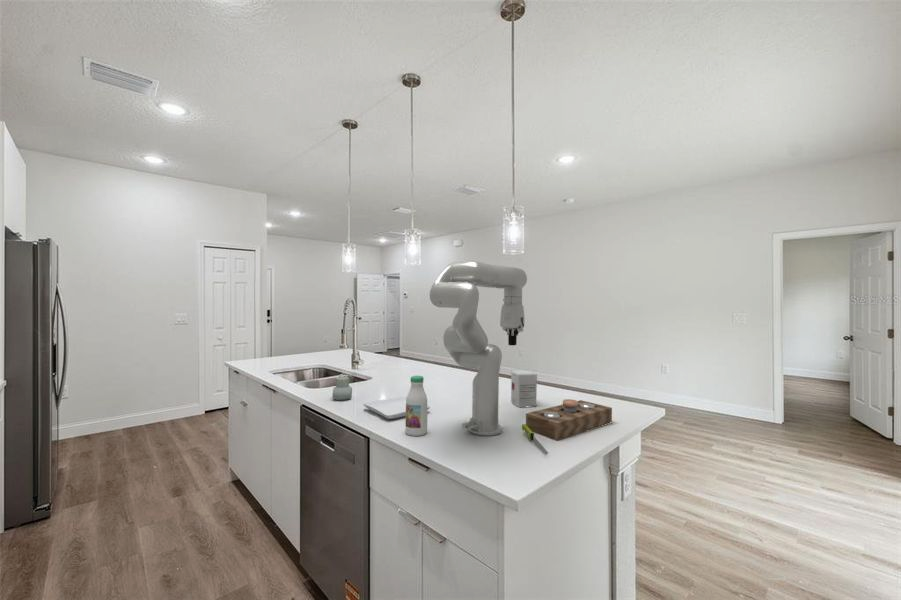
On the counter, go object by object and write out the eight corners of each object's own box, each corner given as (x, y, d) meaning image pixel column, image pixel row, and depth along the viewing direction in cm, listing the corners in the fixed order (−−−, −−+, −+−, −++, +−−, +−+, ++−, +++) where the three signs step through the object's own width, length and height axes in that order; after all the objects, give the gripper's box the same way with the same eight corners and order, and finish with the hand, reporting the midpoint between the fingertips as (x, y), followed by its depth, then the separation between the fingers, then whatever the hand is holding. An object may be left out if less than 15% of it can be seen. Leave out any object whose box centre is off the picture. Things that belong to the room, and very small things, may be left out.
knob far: (589, 422, 149) (589, 407, 149) (576, 419, 153) (576, 404, 153) (597, 420, 152) (597, 405, 152) (585, 416, 157) (585, 402, 157)
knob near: (553, 434, 136) (553, 417, 136) (540, 429, 140) (540, 413, 140) (562, 431, 139) (563, 414, 139) (550, 426, 143) (550, 410, 143)
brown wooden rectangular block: (557, 440, 130) (557, 423, 130) (525, 429, 142) (526, 413, 142) (611, 422, 151) (611, 407, 151) (580, 414, 162) (580, 400, 162)
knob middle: (572, 420, 142) (572, 403, 142) (559, 416, 147) (559, 400, 147) (581, 417, 146) (581, 401, 146) (568, 413, 150) (568, 398, 150)
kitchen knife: (550, 461, 116) (550, 452, 116) (546, 462, 116) (546, 452, 115) (524, 431, 138) (525, 423, 138) (521, 431, 138) (521, 423, 137)
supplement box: (510, 402, 179) (510, 370, 179) (528, 401, 181) (528, 370, 181) (518, 408, 170) (518, 374, 170) (536, 407, 172) (537, 373, 172)
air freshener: (350, 401, 178) (350, 380, 178) (332, 402, 176) (332, 380, 176) (352, 395, 188) (352, 375, 188) (334, 396, 187) (334, 375, 187)
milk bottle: (417, 427, 142) (418, 373, 142) (431, 433, 136) (432, 376, 137) (401, 432, 137) (401, 376, 137) (414, 438, 131) (415, 379, 131)
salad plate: (431, 413, 161) (431, 405, 161) (388, 423, 147) (388, 414, 147) (403, 403, 177) (404, 395, 177) (362, 411, 164) (362, 403, 164)
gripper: (494, 300, 164) (493, 343, 164) (520, 301, 152) (519, 347, 152) (506, 301, 168) (506, 343, 168) (532, 301, 156) (532, 346, 156)
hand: (512, 345), depth 160 cm, fingers closed
